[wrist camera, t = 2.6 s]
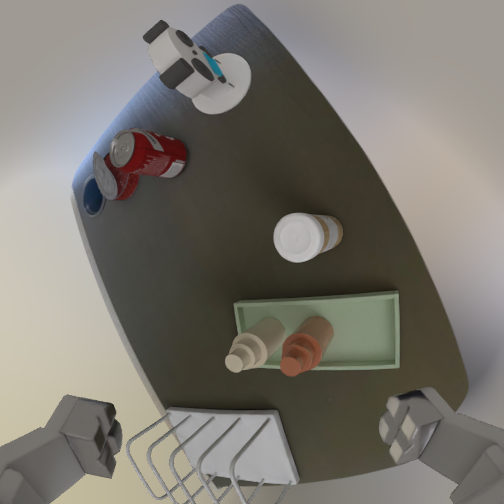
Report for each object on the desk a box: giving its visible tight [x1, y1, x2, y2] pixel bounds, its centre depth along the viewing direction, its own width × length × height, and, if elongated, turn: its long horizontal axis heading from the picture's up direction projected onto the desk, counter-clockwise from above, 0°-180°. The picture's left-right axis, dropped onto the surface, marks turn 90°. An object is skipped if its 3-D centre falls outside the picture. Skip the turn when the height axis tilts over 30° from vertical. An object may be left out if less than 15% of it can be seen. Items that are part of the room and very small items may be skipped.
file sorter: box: [126, 407, 300, 504], centre depth 44 cm, size 25×17×16 cm
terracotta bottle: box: [280, 316, 334, 376], centre depth 36 cm, size 5×5×11 cm
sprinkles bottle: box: [274, 213, 343, 262], centre depth 34 cm, size 5×5×13 cm
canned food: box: [93, 152, 140, 200], centre depth 53 cm, size 11×10×10 cm
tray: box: [234, 290, 400, 370], centre depth 41 cm, size 23×10×2 cm, turn 99°
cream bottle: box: [225, 317, 286, 372], centre depth 39 cm, size 5×5×11 cm
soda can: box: [110, 128, 187, 178], centre depth 44 cm, size 7×7×12 cm
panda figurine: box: [143, 20, 251, 114], centre depth 37 cm, size 12×11×15 cm
